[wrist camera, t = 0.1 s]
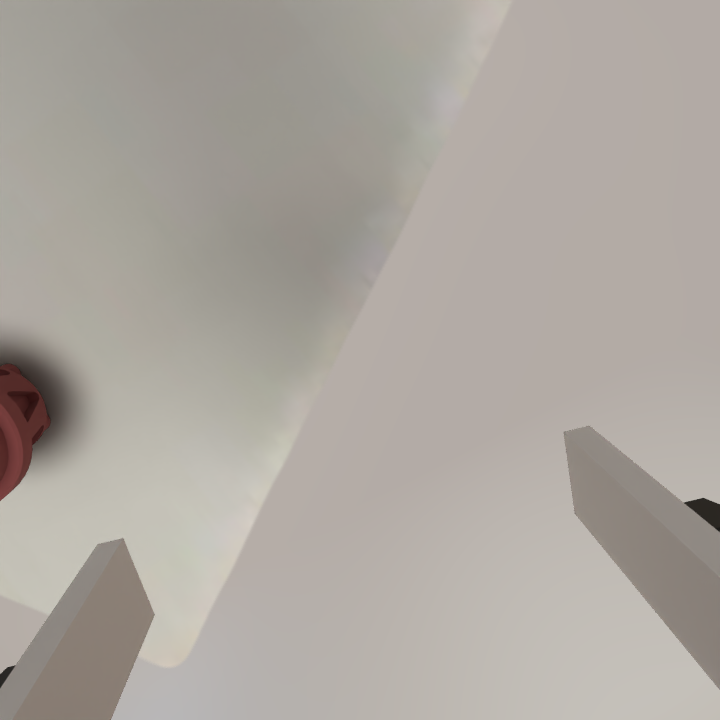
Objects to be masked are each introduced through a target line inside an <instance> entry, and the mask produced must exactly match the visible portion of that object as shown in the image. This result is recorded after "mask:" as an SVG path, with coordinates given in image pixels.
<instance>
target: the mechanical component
mask: <svg viewBox="0 0 720 720" xmlns="http://www.w3.org/2000/svg"><path fill="white" fill-rule="evenodd" d="M49 426H50V418H49V416H48V415H47V412H46V407H45V403H44V400H43V398H42V397H41V395H40V393H39V392H38V390H37V389H36V388H35V386H34V385H33V384H32V383H31V382H30V381H28V380H27V379H26V378H24V377H23V376H21V372H20V370H19V369H18V368H17V367H16V366H14V365H12V364H5V365H2V366H0V501H1V500H2V499H3V498H4V497H5V496H6V495H8V494H9V493H10V492H11V491H12V490H13V489H14V488H15V487H16V486H17V485H18V484H19V483H20V482H21V480H22V479H23V478H24V476H25V474H26V472H27V470H28V468H29V465H30V462H31V458H32V445H33V444H34V443H35V442H36V441H38V439H39V438H40V437H41V435H42V433H43V431H45V430H46V429H47V428H48V427H49Z"/></svg>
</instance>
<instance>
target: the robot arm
mask: <svg viewBox="0 0 720 720" xmlns="http://www.w3.org/2000/svg"><path fill="white" fill-rule="evenodd" d="M564 439H565V446H566V453H567V460H568V468H569V475H570V482H571V489H572V496H573V504H574V511H575V514H576V516H577V517H578V518H579V519H580V520H581V522H582V523H583V524H584V525H585V526H586V528H587V529H588V530H589V531H590V533H591V534H592V535H593V536H594V537H595V539H596V540H597V541H598V542H599V544H600V545H601V546H602V547H603V548H604V550H605V551H606V552H607V553H608V554H609V556H610V557H611V558H612V559H613V560H614V562H615V563H616V564H617V565H618V567H619V568H620V569H621V570H622V572H623V573H624V574H625V575H626V576H627V578H628V579H629V580H630V581H631V582H632V584H633V585H634V586H635V587H636V588H637V590H638V591H639V592H640V593H641V595H642V596H643V597H644V598H645V599H646V601H647V602H648V603H649V604H650V605H651V607H652V608H653V609H654V610H655V612H656V613H657V614H658V615H659V616H660V618H661V619H662V620H663V621H664V623H665V624H666V625H667V626H668V627H669V629H670V630H671V631H672V632H673V634H674V635H675V636H676V637H677V638H678V639H679V641H680V642H681V643H682V644H683V646H684V647H685V648H686V649H687V650H688V652H689V653H690V654H691V655H692V656H693V658H694V659H695V660H696V661H697V663H698V664H699V665H700V666H701V667H702V669H703V670H704V671H705V672H706V674H707V675H708V676H709V677H710V679H711V680H712V681H713V682H714V683H715V685H716V686H717V687H718V688H719V689H720V504H717V503H715V502H712V501H709V500H707V499H705V498H701V499H697V500H693V501H689V502H685V503H683V502H682V501H681V500H680V499H678V498H677V497H676V496H674V495H673V494H672V493H671V492H670V491H669V490H667V489H666V488H665V487H664V486H662V485H661V484H660V483H659V482H657V481H656V480H655V479H654V478H653V477H651V476H650V475H649V474H648V473H647V472H645V471H644V470H643V469H642V468H640V467H639V466H638V465H637V464H635V463H634V462H633V461H632V460H631V459H629V458H628V457H627V456H626V455H625V454H623V453H622V452H621V451H619V450H618V449H617V448H616V447H615V446H614V445H612V444H611V443H610V442H609V441H607V440H606V439H605V438H604V437H602V436H601V435H600V434H599V433H597V432H596V431H595V430H594V429H593V428H591V427H590V426H586V427H582V428H578V429H574V430H569V431H565V432H564ZM154 615H155V614H154V612H153V610H152V607H151V605H150V602H149V600H148V597H147V595H146V593H145V590H144V588H143V585H142V583H141V580H140V578H139V575H138V573H137V571H136V568H135V566H134V563H133V561H132V558H131V556H130V554H129V551H128V549H127V546H126V544H125V541H124V539H123V538H122V539H118V540H114V541H110V542H106V543H101V544H98V545H97V546H96V547H95V549H94V550H93V552H92V553H91V555H90V556H89V558H88V559H87V561H86V562H85V564H84V565H83V567H82V568H81V570H80V571H79V573H78V574H77V576H76V577H75V579H74V580H73V582H72V583H71V584H70V586H69V587H68V589H67V590H66V592H65V593H64V595H63V596H62V598H61V599H60V601H59V602H58V604H57V605H56V607H55V608H54V610H53V611H52V613H51V614H50V616H49V617H48V618H47V620H46V622H45V623H44V624H43V626H42V627H41V629H40V630H39V632H38V634H37V635H36V636H35V638H34V639H33V641H32V642H31V644H30V645H29V647H28V648H27V650H26V651H25V653H24V654H23V655H22V657H21V658H20V660H19V661H18V663H17V664H16V665H15V666H11V667H8V668H6V669H5V670H4V671H3V672H2V673H1V674H0V720H111V718H112V716H113V713H114V711H115V708H116V706H117V704H118V701H119V699H120V697H121V694H122V692H123V689H124V687H125V685H126V682H127V680H128V677H129V675H130V672H131V670H132V668H133V665H134V663H135V660H136V658H137V656H138V653H139V651H140V649H141V646H142V644H143V642H144V639H145V637H146V634H147V632H148V630H149V627H150V625H151V622H152V620H153V618H154Z"/></svg>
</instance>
